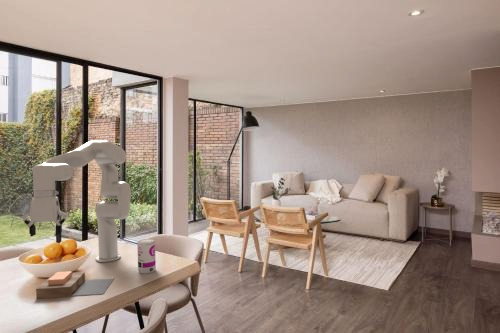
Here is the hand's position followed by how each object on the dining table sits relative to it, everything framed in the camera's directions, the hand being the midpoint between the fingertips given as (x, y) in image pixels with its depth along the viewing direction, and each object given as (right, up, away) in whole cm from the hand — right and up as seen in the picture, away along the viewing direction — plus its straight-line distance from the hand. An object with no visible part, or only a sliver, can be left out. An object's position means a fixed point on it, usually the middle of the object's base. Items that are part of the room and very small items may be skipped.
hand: (45, 235), depth 137 cm
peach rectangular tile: (+4, -20, +4) cm, 21 cm away
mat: (+17, -24, +6) cm, 30 cm away
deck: (+5, -24, +4) cm, 25 cm away
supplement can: (+35, -23, +24) cm, 48 cm away
